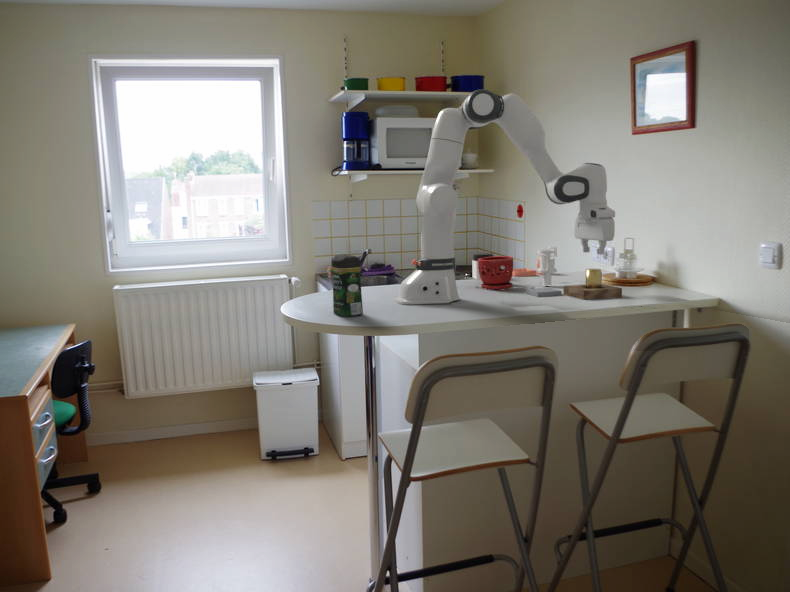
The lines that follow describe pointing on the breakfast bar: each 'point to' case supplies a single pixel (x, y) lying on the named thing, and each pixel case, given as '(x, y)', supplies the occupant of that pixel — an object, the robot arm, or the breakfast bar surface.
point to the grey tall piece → (547, 264)
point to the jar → (475, 263)
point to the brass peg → (593, 278)
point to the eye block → (592, 292)
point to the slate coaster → (544, 292)
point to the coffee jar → (347, 286)
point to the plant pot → (496, 272)
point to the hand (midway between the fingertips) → (593, 253)
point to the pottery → (527, 271)
